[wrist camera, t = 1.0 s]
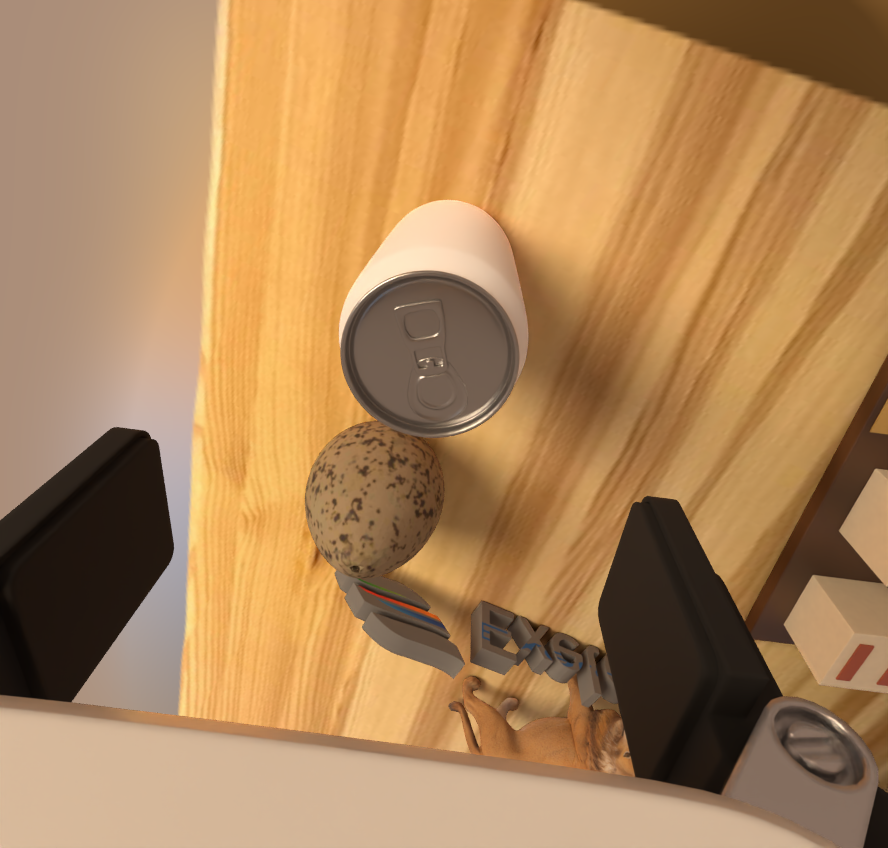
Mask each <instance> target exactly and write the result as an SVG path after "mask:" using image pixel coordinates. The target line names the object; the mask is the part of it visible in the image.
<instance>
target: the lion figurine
mask: <svg viewBox="0 0 888 848" xmlns="http://www.w3.org/2000/svg"><path fill="white" fill-rule="evenodd" d="M567 683H568V687H569V690H570V706H569V709H568V713H567V717H547V718H540V719H537V720H534V721H532V722H530V723H528V724H527V725H525V726H524V727H522V728H521V729H519V730H518V731H516V730H514V729H513V728H512V727H511V726H510V725H509V724H508V722H507V721H506V715H507V713H508V711H509V710H511V711H513V710H516V709H517V708H518V706H519V702H518V700H517V699H515V698H506V699H505V700H504V701H503V702H502V703H501V705H500V706H499V707H498V708H497V709H495V708H493V707H491V706H490V705H488V704H486V703H485V702H483V701H481V700H480V699H478V698H477V697H475V696H474V695H473V691H475V690H478V688H479V687H480V685H481V683H480V681H479V680H478V678H476V677H473V676H470V677H467V678H466V679H465V680H464V682H463V689H462V690H463V699H464V706H465V708H464V706H463V705H462V704H461V703H459V702H455V701H454V702H452V703H450V704H449V708H450V709H451V710H452V711H456V712H459V713H460V714H461V718H462V723H463V728H464V733H465V737H466V740H467V744H468V747H469V750H470V752H471V754H477V755H484V756H492V757H499V758H506V759H514V760H521V761H529V762H536V763H543V764H551V765H558V766H564V767H571V768H578V769H584V770H591V771H597V772H604V773H610V774H617V775H623V776H630V777H635V774H634V769H633V765H632V761H631V756H630V752H629V748H628V744H627V739H626V735H625V731H624V726H623V722H622V718H621V717H620V715H619V714H618V713H617V712H616V711H615V710H610V709H601V710H594V709H593V707H592V705H591V706H590V707H589V708H588V707H585V706H583V705H581V699H580V693H579V687H578V681H577V675H576V674H575V675H574V676H573V677H572V678H571V679H570V680H569V681H568V682H567ZM465 709H466V710H467V711H468V712H470V713H471V714H472V715H473V716H474V718H475V720H476V722H477V724H478V726H479V730H480V737H481V747H479V746H478V744H477V741H476V739H475V735H474V733H473V730H472V727H471V723H470V720H469V717H468V714H467V712H466V710H465Z"/></svg>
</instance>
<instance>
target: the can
mask: <svg viewBox="0 0 888 848" xmlns="http://www.w3.org/2000/svg"><path fill="white" fill-rule="evenodd" d="M528 335H529V334H528V322H527V315H526V310H525V305H524V300H523V296H522V291H521V286H520V282H519V277H518V273H517V268H516V264H515V260H514V256H513V252H512V249H511V246H510V243H509V241H508V238H507V236H506V234H505V233H504V231H503V230H502V228H501V227H500V225H499V224H498V223H497V222H496V221H495V220H494V219H493V218H492V217H491V216H490V215H489V214H487V213H486V212H485V211H483V210H482V209H480V208H478V207H476V206H474V205H472V204H469V203H466V202H462V201H456V200H439V201H434V202H430V203H427V204H424V205H422V206H420V207H418V208H416V209H414V210H412V211H411V212H410V213H408V214H407V215H406V216H405V217H403V218H402V219H401V220H400V222H399V223H398V224H397V225H396V226H395V227H394V229H393V230H392V231H391V232H390V234H389V235H388V236H387V238H386V239H385V240H384V242H383V243H382V244H381V246H380V247H379V249H378V250H377V251H376V253H375V254H374V255H373V257H372V258H371V260H370V261H369V262H368V264H367V265H366V267H365V268H364V269H363V271H362V272H361V274H360V275H359V277H358V278H357V280H356V281H355V283H354V284H353V286H352V288H351V290H350V291H349V293H348V296H347V298H346V300H345V303H344V306H343V309H342V313H341V317H340V324H339V343H340V349H341V364H342V369H343V373H344V376H345V379H346V382H347V384H348V386H349V388H350V390H351V392H352V393H353V395H354V397H355V398H356V399H357V401H358V402H359V403H360V405H361V406H362V407H363V408H364V409H365V410H366V411H367V412H368V413H369V414H370V415H371V416H373V417H374V418H375V419H377V420H378V421H379V422H381V423H383V424H384V425H386V426H388V427H390V428H392V429H394V430H396V431H399V432H401V433H405V434H408V435H412V436H417V437H425V438H441V437H449V436H454V435H458V434H461V433H464V432H467V431H470V430H472V429H474V428H476V427H478V426H479V425H481V424H483V423H484V422H486V421H487V420H488V419H490V418H491V417H492V416H493V415H494V414H495V413H496V412H497V411H498V410H499V409H500V408H501V407H502V406H503V404H504V403H505V402H506V400H507V398H508V397H509V395H510V393H511V391H512V389H513V387H514V385H515V383H516V382H517V380H518V378H519V376H520V374H521V372H522V369H523V367H524V364H525V360H526V356H527V350H528Z"/></svg>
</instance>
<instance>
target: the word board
mask: <svg viewBox="0 0 888 848" xmlns="http://www.w3.org/2000/svg"><path fill="white" fill-rule="evenodd" d="M875 469H883V470H888V356H887V357H886V359H885V361H884V363H883V365H882V367H881V369H880V370H879V372H878V374H877V376H876V378H875V380H874V382H873V383H872V385H871V387H870V389H869V391H868V393H867V395H866V397H865V398H864V400H863V402H862V404H861V406H860V408H859V410H858V411H857V413H856V415H855V417H854V419H853V421H852V423H851V425H850V426H849V428H848V430H847V432H846V434H845V436H844V438H843V439H842V441H841V443H840V445H839V447H838V449H837V451H836V453H835V454H834V456H833V458H832V460H831V462H830V464H829V466H828V467H827V469H826V471H825V473H824V475H823V477H822V479H821V481H820V482H819V484H818V486H817V488H816V490H815V492H814V494H813V495H812V497H811V499H810V501H809V503H808V505H807V507H806V509H805V510H804V512H803V514H802V516H801V518H800V520H799V522H798V523H797V525H796V527H795V529H794V531H793V533H792V535H791V537H790V538H789V540H788V542H787V544H786V546H785V548H784V550H783V551H782V553H781V555H780V557H779V559H778V561H777V563H776V565H775V566H774V568H773V570H772V572H771V574H770V576H769V578H768V579H767V581H766V583H765V585H764V587H763V589H762V591H761V593H760V594H759V596H758V598H757V600H756V602H755V604H754V606H753V607H752V609H751V611H750V613H749V615H748V617H747V619H746V621H745V624H746V626H747V628H748V630H749V632H750V634H751V635H752V637H753V639H754V640H762V641H771V642H779V643H787V644H795V643H794V641H793V640H792V638H791V636H790V635H789V633H788V631H787V629H786V628H785V626H784V623H785V621H786V620H787V618H788V616H789V615H790V613H791V611H792V609H793V608H794V606H795V604H796V603H797V601H798V599H799V597H800V596H801V594H802V592H803V591H804V589H805V587H806V586H807V584H808V582H809V580H810V579H811V577H812V575H818V576H826V577H834V578H842V579H850V580H858V581H866V582H874V583H883V582H882V581H881V580H880V579H879V578H878V577H877V575H876V574H875V573H874V572H873V571H872V570H871V568H870V567H869V566H868V565H867V564H866V562H865V561H864V560H863V559H862V558H861V557H860V555H859V554H858V553H857V552H856V551H855V550H854V548H853V547H852V546H851V545H850V544H849V542H848V541H847V540H846V539H845V538H844V537H843V535H842V534H841V533H840V532H839V530H840V528H841V526H842V524H843V523H844V521H845V519H846V518H847V516H848V514H849V513H850V511H851V509H852V507H853V506H854V504H855V502H856V501H857V499H858V497H859V495H860V494H861V492H862V490H863V489H864V487H865V485H866V484H867V482H868V480H869V478H870V477H871V475H872V473H873V472H874V470H875ZM887 588H888V587H887Z"/></svg>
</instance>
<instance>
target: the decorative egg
mask: <svg viewBox="0 0 888 848" xmlns="http://www.w3.org/2000/svg"><path fill="white" fill-rule="evenodd" d="M443 502H444V479H443V474H442V470H441V467H440V463H439V461H438V459H437V457H436V455H435V453H434V452H433V450H432V448H431V447H430V446H429V444H428V443H427V442H426V441H425V440H424V439H423V438H422V437H417V436H412V435H408V434H405V433H401V432H399V431H396V430H394V429H392V428H390V427H388V426H386V425H384V424H383V423H381V422H379V421H371V422H365V423H361V424H357V425H355V426H352V427H350V428H348V429H346V430H344V431H343V432H341V433H340V434H338V435H337V436H336V437H334V438H333V439H332V440H331V441H330V442H329V443H328V444H327V445H326V446H325V447H324V448H323V450H322V451H321V453H320V454H319V456H318V457H317V459H316V461H315V463H314V465H313V467H312V469H311V472H310V475H309V478H308V482H307V486H306V493H305V510H306V517H307V522H308V526H309V529H310V532H311V535H312V537H313V540H314V542H315V544H316V546H317V548H318V549H319V551H320V552H321V554H322V555H323V557H324V558H325V559H326V560H327V562H328V563H329V564H331V565H332V566H333V567H334V568H335V569H336V570H338V571H339V572H341V573H342V574H344V575H346V576H348V577H352V578H358V579H367V578H374V577H378V576H381V575H384V574H387V573H389V572H392V571H393V570H395V569H397V568H399V567H400V566H402V565H404V564H405V563H406V562H408V561H409V560H410V559H411V558H413V557H414V556H415V555H416V554H417V553H418V552H419V551H420V550H421V549H422V548H423V546H424V545H425V544H426V542H427V541H428V539H429V538H430V536H431V535H432V533H433V531H434V530H435V528H436V526H437V523H438V521H439V518H440V515H441V512H442V508H443Z"/></svg>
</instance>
